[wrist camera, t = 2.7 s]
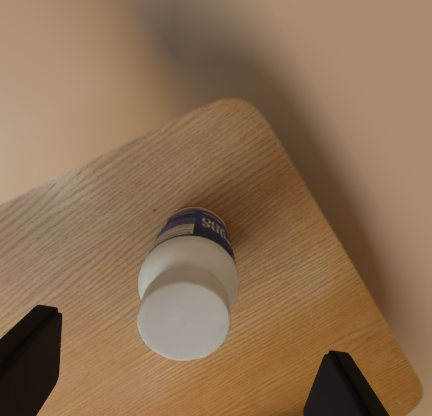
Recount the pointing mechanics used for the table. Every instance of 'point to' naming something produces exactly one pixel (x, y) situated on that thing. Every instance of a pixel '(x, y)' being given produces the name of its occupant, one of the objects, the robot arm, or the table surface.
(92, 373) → the table surface
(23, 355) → the robot arm
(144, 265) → the pill bottle
